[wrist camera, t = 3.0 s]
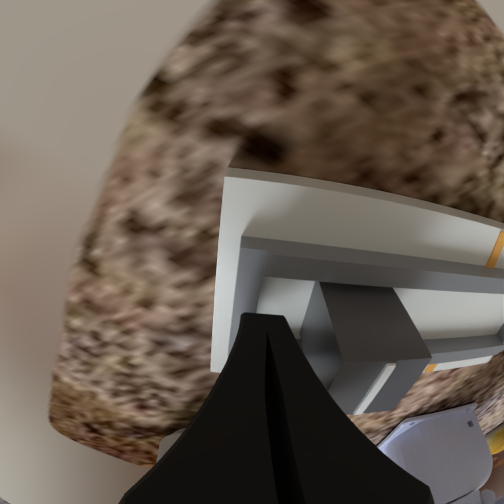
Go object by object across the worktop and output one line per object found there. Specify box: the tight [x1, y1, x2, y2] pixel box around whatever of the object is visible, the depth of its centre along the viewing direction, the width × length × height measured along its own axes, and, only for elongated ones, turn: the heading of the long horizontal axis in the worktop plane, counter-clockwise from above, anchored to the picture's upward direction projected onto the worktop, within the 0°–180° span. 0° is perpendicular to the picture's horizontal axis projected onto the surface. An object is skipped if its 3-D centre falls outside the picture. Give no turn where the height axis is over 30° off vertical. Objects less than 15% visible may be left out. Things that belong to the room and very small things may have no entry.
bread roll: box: [485, 423, 504, 454], centre depth 27 cm, size 8×9×4 cm
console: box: [210, 167, 504, 373], centre depth 12 cm, size 18×9×2 cm, turn 83°
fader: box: [300, 281, 432, 415], centre depth 9 cm, size 3×3×4 cm
